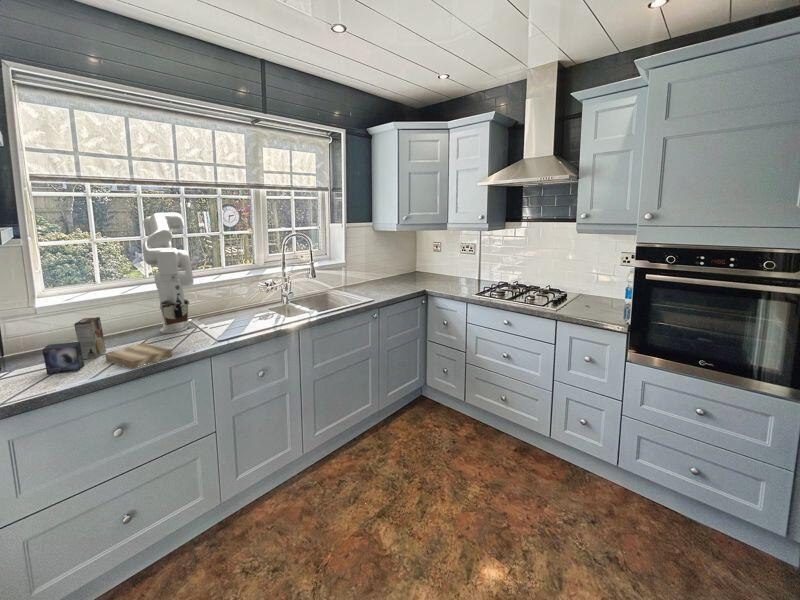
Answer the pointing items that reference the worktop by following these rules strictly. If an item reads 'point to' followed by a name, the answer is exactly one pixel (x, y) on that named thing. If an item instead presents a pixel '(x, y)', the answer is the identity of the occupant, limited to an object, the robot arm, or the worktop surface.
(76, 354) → the small box
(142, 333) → the worktop surface
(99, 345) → the coffee box
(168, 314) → the food container
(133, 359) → the oak base
